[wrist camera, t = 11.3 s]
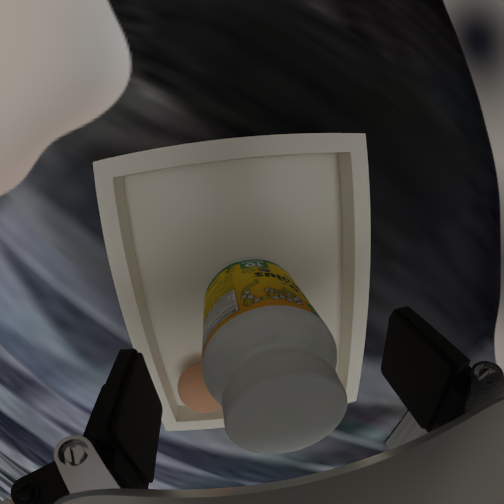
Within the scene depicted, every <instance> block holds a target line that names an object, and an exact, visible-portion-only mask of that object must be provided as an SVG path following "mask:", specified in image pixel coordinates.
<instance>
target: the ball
mask: <svg viewBox="0 0 504 504" xmlns="http://www.w3.org/2000/svg"><path fill="white" fill-rule="evenodd" d="M177 389H178V394H179V397H180V399H181V401H182V402H183V403H184V404H185V405H186V406H187V407H188V408H189V409H191V410H193V411H196V412H200V413H208V412H212V411H215V410H217V409H218V408H220V407H221V405H220V404H219V403H218V402H217V401H216V400H215V399H214V398H213V397H212V395H211V394H210V393H209V391H208V389H207V387H206V385H205V382H204V378H203V373H202V364H197V365H193V366H191V367H189V368H187V369H186V370H185V371H184V372H183V373H182V374H181V376H180V378H179V381H178V386H177Z"/></svg>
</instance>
